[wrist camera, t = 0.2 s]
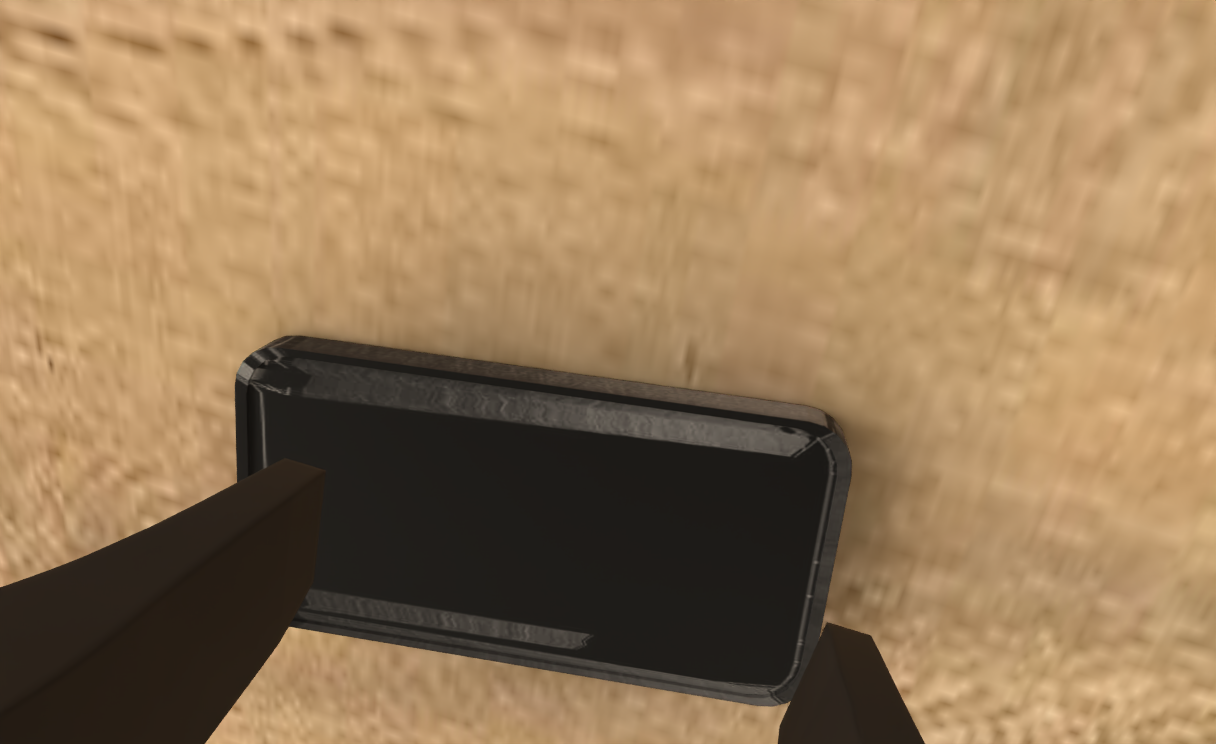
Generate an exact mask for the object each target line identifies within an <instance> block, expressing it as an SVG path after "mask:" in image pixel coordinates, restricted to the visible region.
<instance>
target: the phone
mask: <svg viewBox="0 0 1216 744" xmlns="http://www.w3.org/2000/svg"><path fill="white" fill-rule="evenodd" d="M235 413H236V453H237V483H238V482H239V481H241V480H243V479H245V478H247V477H249V476H251V475H253V474H255V473H257V472H258V471H260V470H262V469H264V468H266V467H268V466H270V465H272V464H274V463H276V462H278V461H280V460H282V459H284V458H286V459H290V460H293V461H296V462H300V463H303V464H306V465H310V466H313V467H316V468H319V469H323V470H326V474H325V483H324V493H323V502H322V511H321V520H320V529H319V538H318V547H317V556H316V565H315V574H314V582H313V584H312V586H311V587H310V589H309V591H308V593H307V595H306V596H305V598H304V600H303V602H302V604H301V606H300V607H299V609H298V611H297V613H296V615H295V616H294V618H293V620H292V622H291V623H290V625H289V627H295V628H301V629H307V630H313V631H318V632H324V633H330V634H336V635H342V636H348V637H354V638H360V639H366V640H372V641H378V642H384V643H390V644H396V645H401V646H407V647H413V648H419V649H425V650H431V651H437V652H443V653H449V654H455V655H461V656H467V657H472V658H478V659H484V660H490V661H496V662H502V663H508V664H514V665H520V666H526V667H532V668H537V669H543V670H549V671H555V672H561V673H567V674H573V675H579V676H585V677H591V678H596V679H602V680H608V681H614V682H620V683H626V684H632V685H638V686H644V687H650V688H656V689H661V690H667V691H673V692H679V693H685V694H691V695H697V696H703V697H709V698H715V699H720V700H726V701H732V702H738V703H744V704H750V705H756V706H777V705H781V704H785V703H788V702H790V701H791V700H792V698H793V696H794V694H795V691H796V689H797V687H798V685H799V683H800V681H801V678H802V676H803V674H804V672H805V670H806V667H807V665H808V663H809V661H810V659H811V657H812V654H813V652H814V650H815V648H816V646H817V644H818V641H819V637H820V632H821V627H822V622H823V617H824V612H825V607H826V602H827V597H828V592H829V586H830V581H831V576H832V571H833V566H834V561H835V556H836V551H837V546H838V541H839V536H840V531H841V526H842V521H843V516H844V511H845V506H846V501H847V496H848V491H849V486H850V480H851V473H852V460H851V457H850V453H849V449H848V446H847V442H846V439H845V436H844V434H843V431H842V429H841V428H840V426H839V425H838V424H837V423H836V421H835V420H834V419H833V418H832V417H830V416H829V415H827V414H826V413H824V412H823V411H821V410H819V409H815V408H812V407H809V406H804V405H797V404H790V403H783V402H775V401H768V400H761V399H754V398H746V397H739V396H732V395H725V394H718V393H710V392H703V391H696V390H689V389H681V388H674V387H667V386H660V385H652V384H645V383H638V382H631V381H624V380H616V379H609V378H602V377H595V376H587V375H580V374H573V373H566V372H558V371H551V370H544V369H537V368H530V367H522V366H515V365H508V364H501V363H493V362H486V361H479V360H472V359H464V358H457V357H450V356H443V355H436V354H428V353H421V352H414V351H407V350H399V349H392V348H385V347H378V346H370V345H363V344H356V343H349V342H342V341H334V340H327V339H320V338H313V337H305V336H285V337H282V338H279V339H277V340H274V341H272V342H270V343H269V344H267V345H265V346H263V347H262V348H260V349H258V350H256V351H255V352H253V353H252V354H251V355H249V356H248V357H247V358H246V359H245V360H244V361H243V362H242V364H241V366H240V368H239V370H238V371H237V374H236V382H235Z"/></svg>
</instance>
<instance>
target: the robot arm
mask: <svg viewBox="0 0 1216 744" xmlns="http://www.w3.org/2000/svg"><path fill="white" fill-rule="evenodd" d="M325 474H326V470H323V469H319V468H316V467H313V466H310V465H306V464H303V463H300V462H296V461H293V460H290V459H286V458H284V459H282V460H280V461H278V462H276V463H274V464H272V465H270V466H268V467H266V468H264V469H262V470H260V471H258V472H257V473H255V474H253V475H251V476H249V477H247V478H245V479H243V480H241V481H239V482H238V483H236V484H234V485H232V486H230V487H228V488H226V489H224V490H222V491H220V492H219V493H217V494H215V495H213V496H211V497H209V498H207V499H205V500H203V501H201V502H199V503H197V504H195V505H193V506H191V507H189V508H187V509H185V510H183V511H181V512H179V513H177V514H175V515H173V516H171V517H169V518H167V519H165V520H163V521H161V522H159V523H157V524H155V525H153V526H151V527H149V528H147V529H145V530H142V531H140V532H138V533H136V534H134V535H131V536H129V537H127V538H125V539H122V540H120V541H118V542H116V543H113V544H111V545H109V546H107V547H105V548H102V549H100V550H98V551H96V552H93V553H91V554H89V555H86V556H84V557H82V558H79V559H77V560H74V561H72V562H69V563H67V564H64V565H61V566H59V567H56V568H54V569H51V570H49V571H46V572H43V573H40V574H37V575H35V576H32V577H29V578H26V579H23V580H20V581H18V582H15V583H12V584H9V585H6V586H3V587H0V744H205V743H206V741H207V740H208V739H209V737H210V736H211V735H212V733H213V732H214V731H215V729H216V728H217V727H218V725H219V724H220V722H221V721H222V720H223V718H224V717H225V716H226V714H227V713H228V712H229V710H230V709H231V708H232V706H233V705H234V704H235V702H236V701H237V700H238V698H239V697H240V696H241V694H242V693H243V692H244V690H245V689H246V688H247V686H248V685H249V684H250V682H251V681H252V679H253V678H254V677H255V675H256V674H257V673H258V671H259V670H260V669H261V667H262V666H263V665H264V663H265V662H266V660H267V659H268V658H269V656H270V655H271V654H272V652H273V651H274V649H275V648H276V647H277V645H278V644H279V642H280V641H281V639H282V637H283V635H284V634H285V632H286V630H287V629H288V627H289V625H290V623H291V622H292V620H293V618H294V616H295V615H296V613H297V611H298V609H299V607H300V606H301V604H302V602H303V600H304V598H305V596H306V595H307V593H308V591H309V589H310V587H311V586H312V584H313V582H314V574H315V565H316V556H317V547H318V538H319V529H320V520H321V511H322V502H323V493H324V483H325ZM778 744H925V743H924V741H923V739H922V737H921V735H920V733H919V731H918V729H917V727H916V725H915V723H914V721H913V719H912V717H911V715H910V713H909V711H908V709H907V707H906V705H905V703H904V701H903V699H902V697H901V695H900V693H899V691H898V689H897V687H896V685H895V683H894V681H893V679H892V677H891V675H890V673H889V671H888V669H887V667H886V665H885V663H884V661H883V658H882V656H881V654H880V652H879V650H878V648H877V646H876V644H875V643H874V641H873V639H872V637H871V635H867V634H864V633H861V632H857V631H854V630H851V629H847V628H844V627H841V626H838V625H834V624H831V623H828V622H827V624H826V626H825V628H824V630H823V633H822V635H821V637H820V639H819V641H818V644H817V646H816V648H815V650H814V652H813V654H812V657H811V659H810V661H809V663H808V665H807V667H806V670H805V672H804V674H803V676H802V678H801V681H800V683H799V685H798V687H797V689H796V691H795V694H794V696H793V698H792V700H791V702H790V705H789V707H788V709H787V711H786V713H785V715H784V718H783V720H782V722H781V724H780V728H779V737H778Z"/></svg>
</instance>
